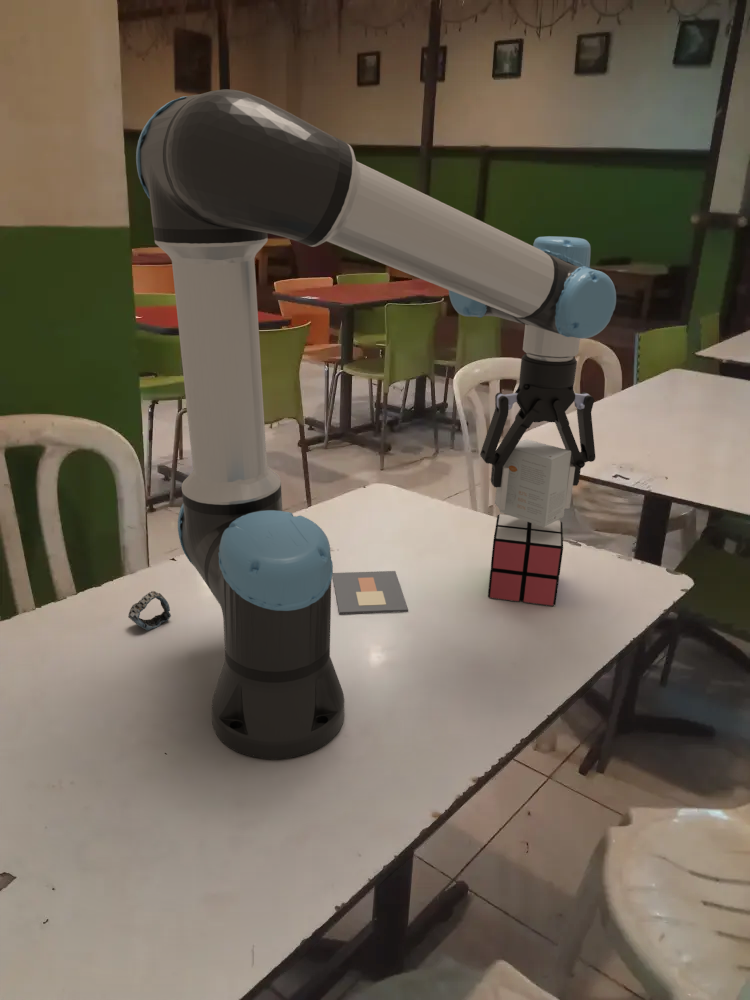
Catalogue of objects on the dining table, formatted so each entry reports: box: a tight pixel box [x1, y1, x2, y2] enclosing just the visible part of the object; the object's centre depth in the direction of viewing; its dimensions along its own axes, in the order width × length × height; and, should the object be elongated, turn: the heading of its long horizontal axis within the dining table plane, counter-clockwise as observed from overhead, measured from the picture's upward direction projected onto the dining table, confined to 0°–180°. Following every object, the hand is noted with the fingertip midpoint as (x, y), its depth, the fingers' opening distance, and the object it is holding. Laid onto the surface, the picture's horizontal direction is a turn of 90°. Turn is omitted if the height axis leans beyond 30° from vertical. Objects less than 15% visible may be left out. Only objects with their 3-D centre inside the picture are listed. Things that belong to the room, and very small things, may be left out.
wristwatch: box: [128, 590, 172, 632], centre depth 107 cm, size 3×5×5 cm
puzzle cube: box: [487, 513, 564, 607], centre depth 119 cm, size 10×10×10 cm
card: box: [332, 570, 409, 615], centre depth 118 cm, size 10×12×1 cm
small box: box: [499, 438, 571, 527], centre depth 115 cm, size 8×6×10 cm
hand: (532, 505), depth 116 cm, fingers closed on small box, 9 cm apart
